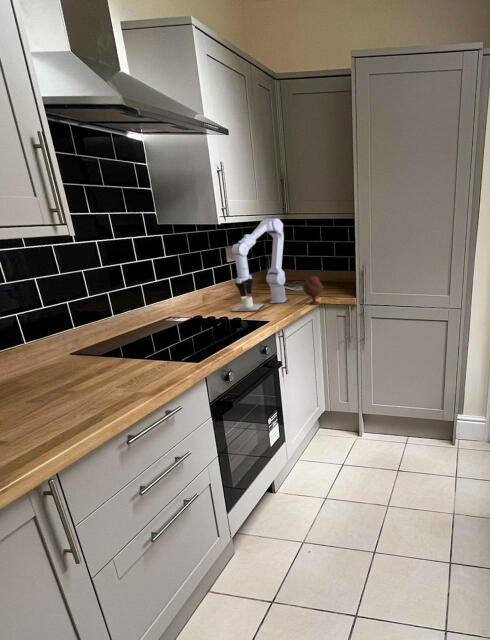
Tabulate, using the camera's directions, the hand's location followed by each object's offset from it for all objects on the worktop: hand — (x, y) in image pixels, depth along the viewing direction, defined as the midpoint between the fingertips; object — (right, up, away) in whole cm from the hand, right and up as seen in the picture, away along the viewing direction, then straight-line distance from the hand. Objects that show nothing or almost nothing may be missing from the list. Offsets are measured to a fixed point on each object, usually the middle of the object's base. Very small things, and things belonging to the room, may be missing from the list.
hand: (246, 294), depth 228 cm
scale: (0, -7, +3) cm, 7 cm away
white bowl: (0, -6, +2) cm, 6 cm away
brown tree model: (+34, -3, +10) cm, 36 cm away
